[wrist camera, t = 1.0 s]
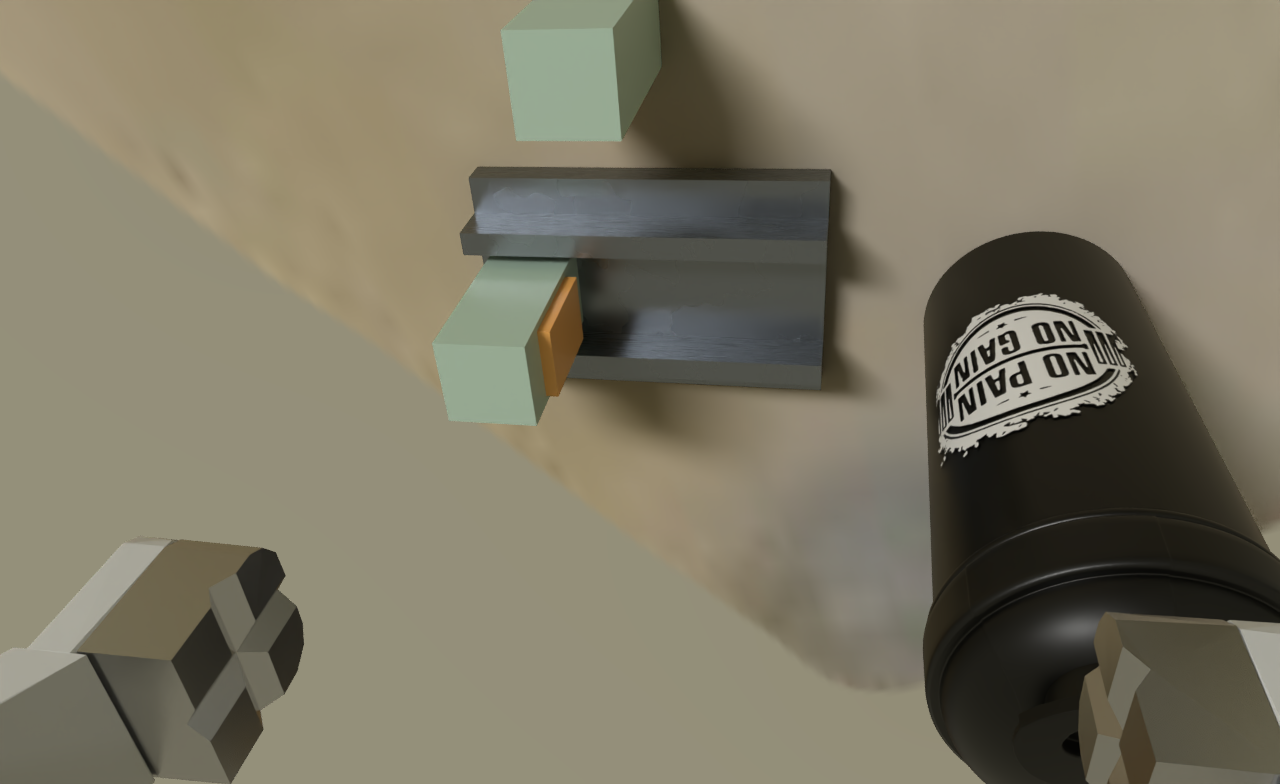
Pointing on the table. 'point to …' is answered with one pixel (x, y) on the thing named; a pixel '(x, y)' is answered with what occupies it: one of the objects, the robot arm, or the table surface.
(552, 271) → the green and orange block
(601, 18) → the pale green block
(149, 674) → the robot arm
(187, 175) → the table surface
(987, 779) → the water bottle
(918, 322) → the table surface
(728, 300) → the rail
